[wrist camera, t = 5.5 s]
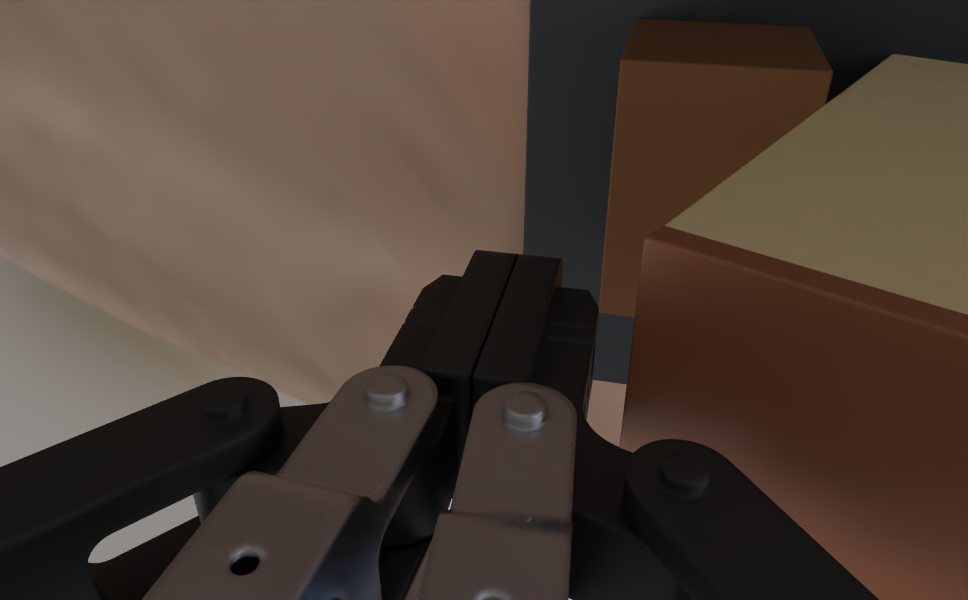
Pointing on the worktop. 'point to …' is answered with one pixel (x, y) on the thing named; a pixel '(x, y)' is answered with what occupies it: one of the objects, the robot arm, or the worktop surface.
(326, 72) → the worktop surface
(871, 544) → the carton
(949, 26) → the mat
